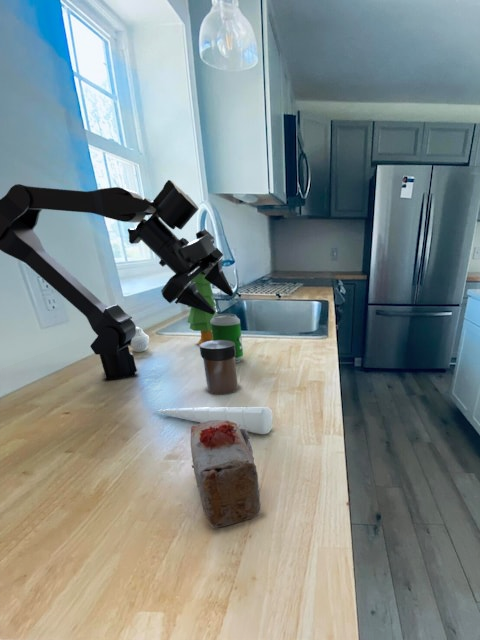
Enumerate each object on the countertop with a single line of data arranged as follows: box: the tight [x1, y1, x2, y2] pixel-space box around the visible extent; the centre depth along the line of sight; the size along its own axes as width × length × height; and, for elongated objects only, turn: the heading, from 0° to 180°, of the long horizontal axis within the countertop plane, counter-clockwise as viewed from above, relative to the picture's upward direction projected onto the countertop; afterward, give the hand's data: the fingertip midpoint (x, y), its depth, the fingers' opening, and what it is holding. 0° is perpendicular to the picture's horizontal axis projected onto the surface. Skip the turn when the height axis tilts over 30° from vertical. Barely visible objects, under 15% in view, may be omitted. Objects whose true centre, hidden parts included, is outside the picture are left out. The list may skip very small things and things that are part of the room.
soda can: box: [211, 313, 244, 364], centre depth 98 cm, size 8×8×12 cm
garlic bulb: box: [130, 326, 150, 353], centre depth 106 cm, size 6×6×7 cm
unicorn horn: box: [156, 406, 274, 435], centre depth 67 cm, size 5×24×5 cm, turn 69°
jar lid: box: [199, 340, 236, 360], centre depth 78 cm, size 7×7×2 cm
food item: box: [190, 420, 261, 528], centre depth 47 cm, size 14×8×10 cm, turn 24°
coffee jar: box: [202, 357, 239, 395], centre depth 80 cm, size 7×7×10 cm
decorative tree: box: [186, 274, 218, 347], centre depth 108 cm, size 10×9×30 cm
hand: (223, 303), depth 83 cm, fingers open, 9 cm apart
